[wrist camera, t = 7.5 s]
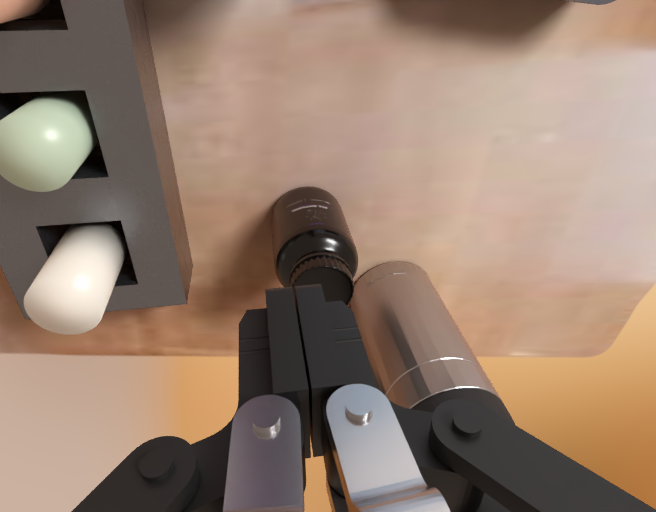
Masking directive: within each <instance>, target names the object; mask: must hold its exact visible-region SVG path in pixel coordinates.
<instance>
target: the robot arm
mask: <svg viewBox="0 0 656 512" xmlns="http://www.w3.org/2000/svg"><path fill="white" fill-rule="evenodd" d="M265 290H266V304H267V308H264V309H253V310H247V311H246V313H245V314H244V316H243V318H242V320H241V321H240V323H239V402H238V408H237V411H236V413H235V415H234V417H233V418H232V420H231V421H230V422H229V423H228V424H227V426H225V427H224V428H223V429H222V430H221V431H219V432H217V433H216V434H214V435H212V436H210V437H208V438H206V439H203V440H201V441H198V442H196V443H194V444H191V445H190V444H189V443H188V442H187V441H185V440H183V439H181V438H179V437H174V436H163V437H158V438H154V439H152V440H149V441H147V442H145V443H143V444H142V445H140V446H139V447H137V448H136V449H135V450H134V451H133V452H131V454H129V455H128V456H127V457H126V458H125V459H124V460H123V461H122V462H121V463H120V464H119V465H118V466H117V467H116V468H115V469H114V470H113V471H112V472H111V473H110V474H109V475H108V476H107V477H106V478H105V479H104V480H103V481H102V482H101V483H100V484H99V485H98V486H97V487H96V488H95V489H94V490H93V491H92V492H91V493H90V494H89V495H88V496H87V497H86V498H85V499H84V500H83V501H82V502H81V503H80V504H79V505H78V506H77V507H76V508H75V509H74V510H73V511H72V512H304V491H305V487H306V469H305V458H310V457H311V452H310V436H311V443H312V449H313V457H316V456H324V462H325V468H326V487H327V493H328V496H329V501H330V505H331V509H332V512H656V510H655V509H654V508H652V507H650V506H649V505H647V504H645V503H644V502H642V501H640V500H639V499H637V498H635V497H634V496H632V495H630V494H629V493H627V492H625V491H624V490H622V489H620V488H619V487H617V486H615V485H614V484H612V483H610V482H609V481H607V480H605V479H604V478H602V477H600V476H599V475H597V474H595V473H594V472H592V471H590V470H589V469H587V468H585V467H584V466H582V465H580V464H579V463H577V462H575V461H574V460H572V459H570V458H569V457H567V456H565V455H564V454H562V453H560V452H559V451H557V450H555V449H554V448H552V447H550V446H549V445H547V444H545V443H544V442H542V441H540V440H539V439H537V438H535V437H534V436H532V435H530V434H529V433H527V432H525V431H524V430H522V429H520V428H519V427H517V426H515V423H514V421H513V420H512V417H511V416H510V414H509V412H508V411H507V409H506V407H505V405H504V404H503V402H502V401H501V399H500V397H499V395H498V394H497V392H496V390H495V388H494V387H493V385H492V383H491V382H490V380H489V378H488V377H487V375H486V373H485V372H484V370H483V369H482V367H481V365H480V364H479V362H478V360H477V359H476V357H475V355H474V353H473V352H472V350H471V348H470V347H469V345H468V343H467V342H466V340H465V338H464V337H463V335H462V333H461V332H460V330H459V328H458V326H457V325H456V323H455V321H454V320H453V318H452V316H451V315H450V313H449V311H448V310H447V308H446V306H445V305H444V303H443V301H442V299H441V298H440V296H439V294H438V293H437V291H436V289H435V288H434V286H433V284H432V283H431V281H430V279H429V278H428V276H427V274H426V273H425V272H424V271H423V270H422V269H421V268H420V267H418V266H416V265H414V264H411V263H407V262H388V263H385V264H382V265H379V266H377V267H375V268H372V269H371V270H369V271H368V272H366V273H365V274H364V275H363V276H362V277H361V278H360V279H359V280H358V281H357V283H356V284H355V286H354V293H353V297H352V298H351V301H350V307H351V309H350V308H349V307H348V306H347V305H346V304H345V303H344V302H343V301H333V302H326V301H325V297H324V293H323V289H322V286H321V284H315V285H304V286H294V295H293V289H292V287H284V288H273V289H265Z"/></svg>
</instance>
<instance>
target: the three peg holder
mask: <svg viewBox="0 0 656 512" xmlns="http://www.w3.org/2000/svg"><path fill="white" fill-rule="evenodd" d="M60 1H61V5H62V8H63V12H64V15H65V19H66V20H12V21H8V22H4V23H0V120H2V119H3V118H5V117H6V116H8V115H9V114H11V113H12V112H14V111H15V110H17V109H18V108H20V107H21V106H23V105H24V104H26V103H27V102H29V101H30V97H29V94H28V92H44V91H74V90H85V92H86V96H87V99H88V103H89V106H90V110H91V114H92V117H93V121H94V125H95V128H96V132H97V136H98V139H99V143H100V147H101V150H92V152H91V153H90V154H89V155H88V157H87V158H86V159H85V161H84V162H83V163H82V165H81V166H80V167H79V168H78V170H77V171H76V172H75V174H74V175H73V176H72V177H71V179H70V180H69V181H68V182H67V183H66V184H65V185H64V186H62V187H60V188H59V189H56V190H53V191H48V192H35V191H30V190H26V189H23V188H20V187H18V186H16V185H14V184H12V183H10V182H9V181H7V180H6V179H5V178H4V177H2V176H1V175H0V266H1V268H2V270H3V272H4V274H5V276H6V278H7V281H8V283H9V285H10V287H11V289H12V291H13V294H14V296H15V298H16V300H17V302H18V304H19V307H20V309H21V311H22V313H23V315H24V317H25V319H31V318H30V317H29V316H28V314H27V313H26V311H25V308H24V296H25V294H26V292H27V291H28V289H29V287H30V286H31V284H32V283H33V281H34V280H35V278H36V277H37V275H38V273H39V272H40V270H41V269H42V267H43V266H44V264H45V263H46V261H47V259H48V258H49V256H50V255H51V253H52V252H53V250H54V249H55V247H56V245H57V244H58V242H59V241H60V239H61V238H62V236H63V235H64V233H65V231H66V230H67V229H68V228H69V227H70V226H71V225H72V224H76V223H90V222H104V221H119V220H121V223H122V227H123V230H124V234H125V238H126V241H127V245H128V248H129V249H127V254H126V257H125V259H124V262H123V265H122V267H121V270H120V272H119V275H118V278H117V280H116V283H115V285H114V288H113V291H112V293H111V296H110V298H109V301H108V304H107V306H106V309H105V311H104V312H108V311H119V310H129V309H139V308H150V307H160V306H171V305H181V304H187V300H188V294H189V287H190V281H191V274H192V268H193V264H192V259H191V254H190V248H189V243H188V238H187V232H186V227H185V222H184V217H183V211H182V206H181V201H180V196H179V190H178V185H177V180H176V175H175V169H174V164H173V159H172V153H171V148H170V143H169V138H168V132H167V127H166V122H165V117H164V111H163V106H162V101H161V96H160V90H159V85H158V80H157V75H156V69H155V64H154V59H153V53H152V48H151V43H150V38H149V32H148V27H147V22H146V17H145V11H144V6H143V1H142V0H60Z"/></svg>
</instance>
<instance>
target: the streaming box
mask: <svg viewBox="0 0 656 512" xmlns="http://www.w3.org/2000/svg"><path fill="white" fill-rule="evenodd" d="M563 1H571V2H579V3H587V4H596V5H602V4H607V3H611V2H613V1H615V0H563Z"/></svg>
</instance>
